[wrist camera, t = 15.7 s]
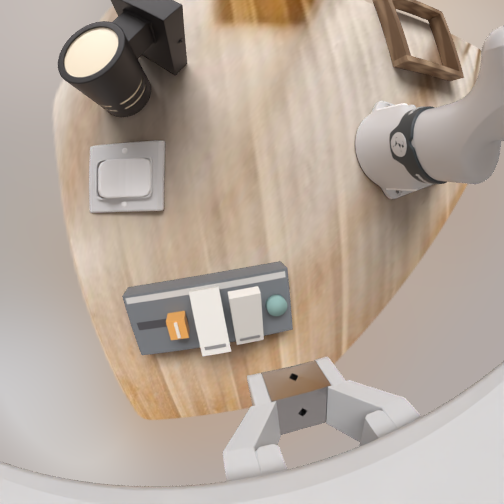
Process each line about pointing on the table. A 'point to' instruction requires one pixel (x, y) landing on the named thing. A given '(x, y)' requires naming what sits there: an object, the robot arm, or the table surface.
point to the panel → (177, 299)
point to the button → (276, 305)
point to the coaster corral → (400, 55)
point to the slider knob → (177, 325)
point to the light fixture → (124, 53)
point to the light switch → (127, 177)
